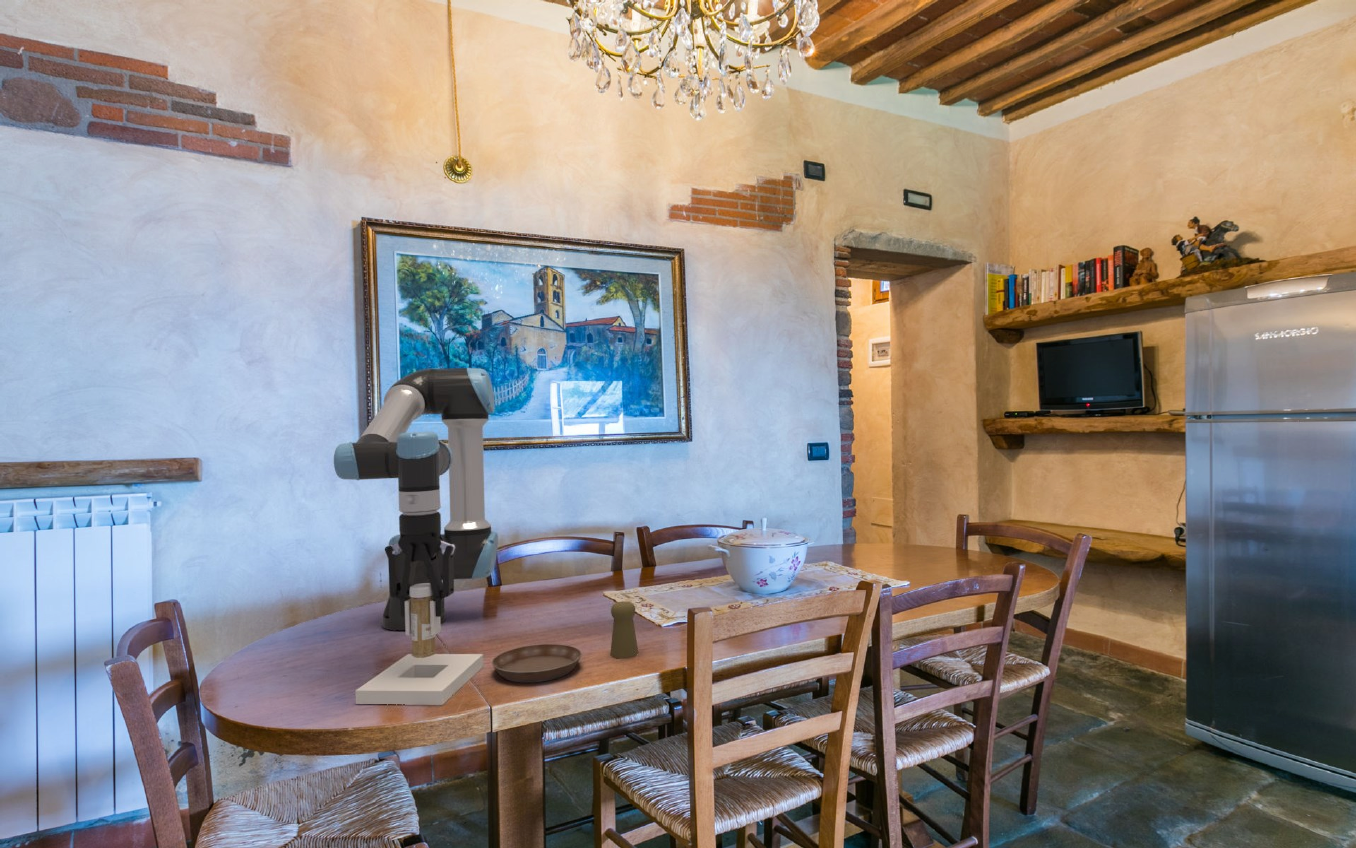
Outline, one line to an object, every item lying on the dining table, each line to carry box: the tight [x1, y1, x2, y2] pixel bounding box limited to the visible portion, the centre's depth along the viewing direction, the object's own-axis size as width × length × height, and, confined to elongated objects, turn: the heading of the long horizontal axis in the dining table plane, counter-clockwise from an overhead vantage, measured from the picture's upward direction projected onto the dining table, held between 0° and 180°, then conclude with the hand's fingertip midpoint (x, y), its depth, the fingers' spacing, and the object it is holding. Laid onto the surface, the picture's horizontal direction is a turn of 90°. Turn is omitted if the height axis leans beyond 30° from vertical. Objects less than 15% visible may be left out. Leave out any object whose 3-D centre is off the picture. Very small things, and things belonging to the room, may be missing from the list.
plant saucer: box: [491, 643, 583, 684], centre depth 140 cm, size 18×18×3 cm
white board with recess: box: [355, 653, 484, 706], centre depth 134 cm, size 20×16×2 cm
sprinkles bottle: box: [410, 583, 437, 658], centre depth 134 cm, size 5×5×14 cm
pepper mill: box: [609, 600, 639, 660], centre depth 149 cm, size 6×6×11 cm
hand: (423, 632), depth 134 cm, fingers closed on sprinkles bottle, 4 cm apart
